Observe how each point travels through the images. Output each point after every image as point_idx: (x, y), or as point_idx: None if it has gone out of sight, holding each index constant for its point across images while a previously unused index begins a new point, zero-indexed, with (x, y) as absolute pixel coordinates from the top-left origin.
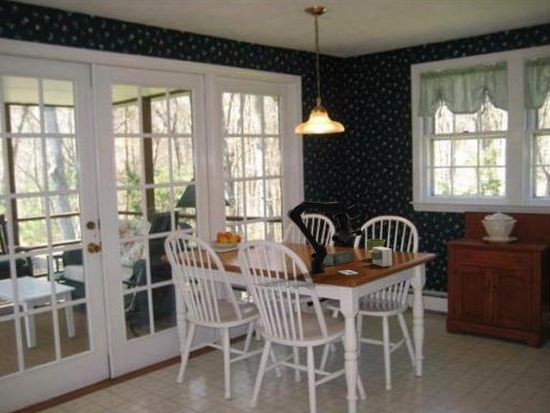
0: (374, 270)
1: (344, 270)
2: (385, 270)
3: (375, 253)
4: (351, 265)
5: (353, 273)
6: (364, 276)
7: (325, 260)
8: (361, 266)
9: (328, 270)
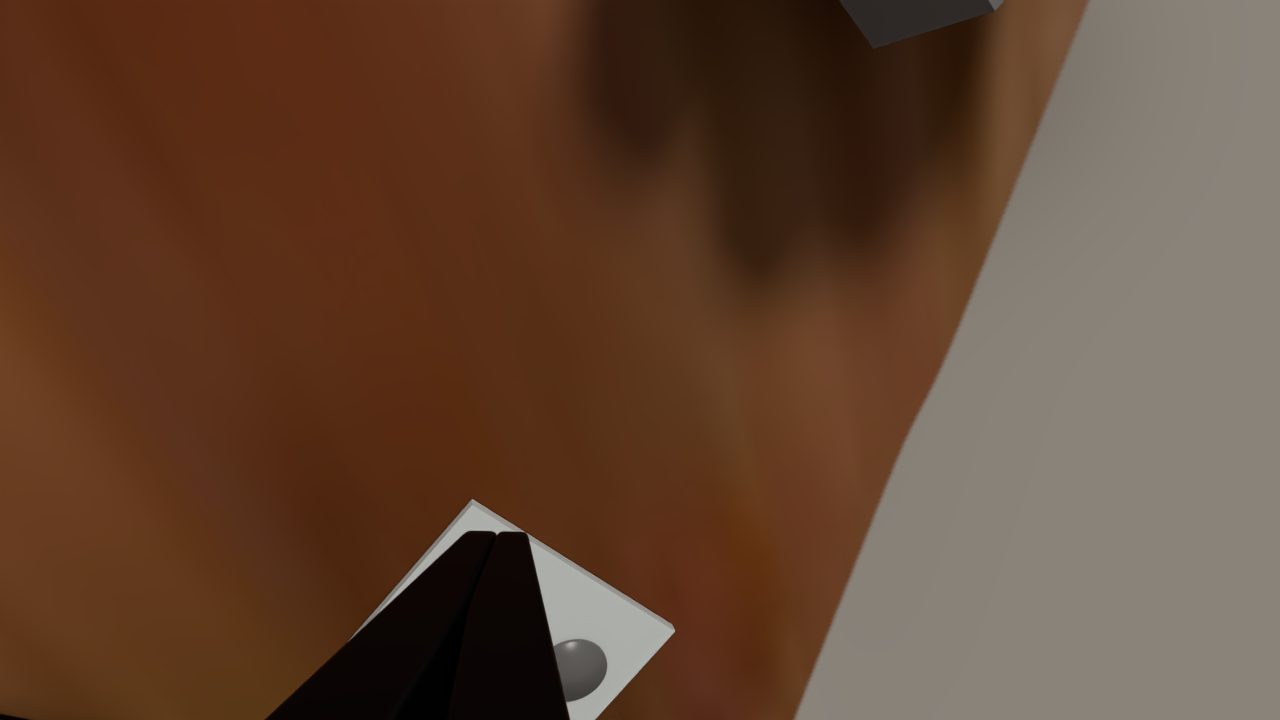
0: (824, 355)
1: (417, 571)
2: (958, 306)
3: (986, 10)
4: (292, 8)
5: (623, 678)
6: (775, 707)
7: None
8: (543, 78)
9: (104, 614)
